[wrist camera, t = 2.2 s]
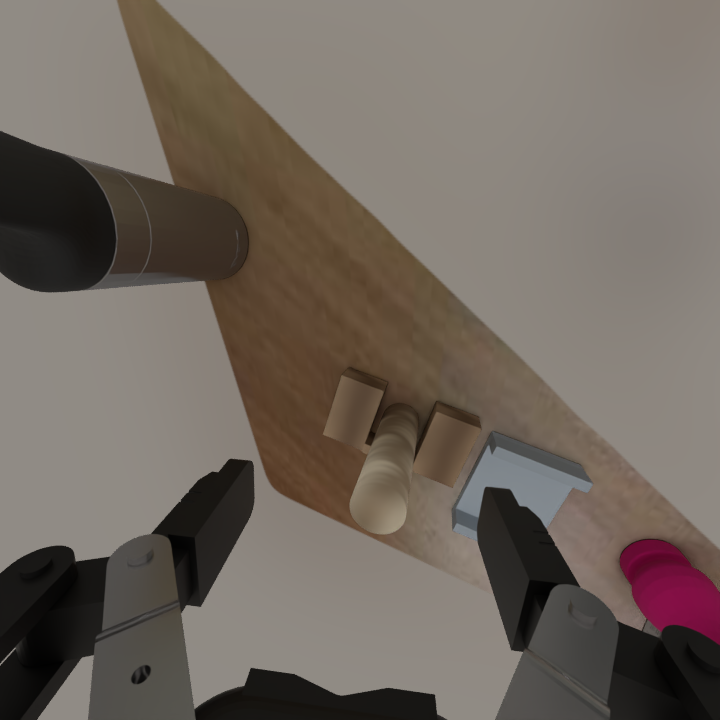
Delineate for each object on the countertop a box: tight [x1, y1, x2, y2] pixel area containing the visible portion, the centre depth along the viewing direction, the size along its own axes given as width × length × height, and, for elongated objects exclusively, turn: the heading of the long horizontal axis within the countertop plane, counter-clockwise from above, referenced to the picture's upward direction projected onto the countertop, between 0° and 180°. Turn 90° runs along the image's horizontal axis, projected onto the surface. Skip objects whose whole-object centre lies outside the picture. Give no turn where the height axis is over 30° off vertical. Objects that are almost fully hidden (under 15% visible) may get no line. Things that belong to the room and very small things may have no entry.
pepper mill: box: [620, 539, 720, 645], centre depth 30 cm, size 7×7×20 cm
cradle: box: [452, 431, 593, 541], centre depth 39 cm, size 10×12×4 cm
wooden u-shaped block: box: [323, 368, 481, 488], centre depth 40 cm, size 16×8×3 cm, turn 72°
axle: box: [350, 403, 419, 534], centre depth 34 cm, size 4×4×16 cm
